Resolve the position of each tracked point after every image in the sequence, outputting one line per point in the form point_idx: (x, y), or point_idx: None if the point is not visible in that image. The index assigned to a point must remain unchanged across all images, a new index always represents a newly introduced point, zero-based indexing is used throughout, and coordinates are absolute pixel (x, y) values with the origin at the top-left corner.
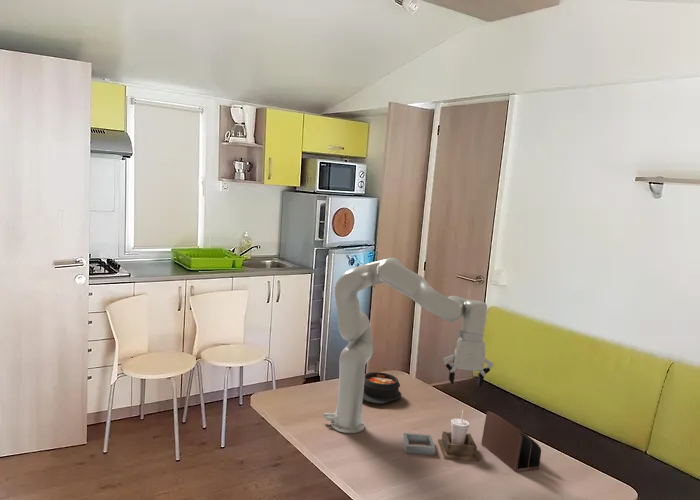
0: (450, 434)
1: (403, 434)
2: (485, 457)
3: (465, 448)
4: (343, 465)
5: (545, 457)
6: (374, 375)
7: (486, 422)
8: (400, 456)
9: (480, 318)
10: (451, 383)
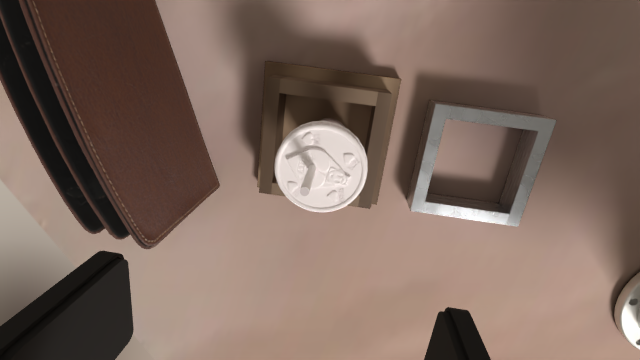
0: None
1: (519, 217)
2: (233, 91)
3: (315, 82)
4: None
5: None
6: None
7: (174, 214)
8: (576, 86)
9: None
10: (467, 313)
